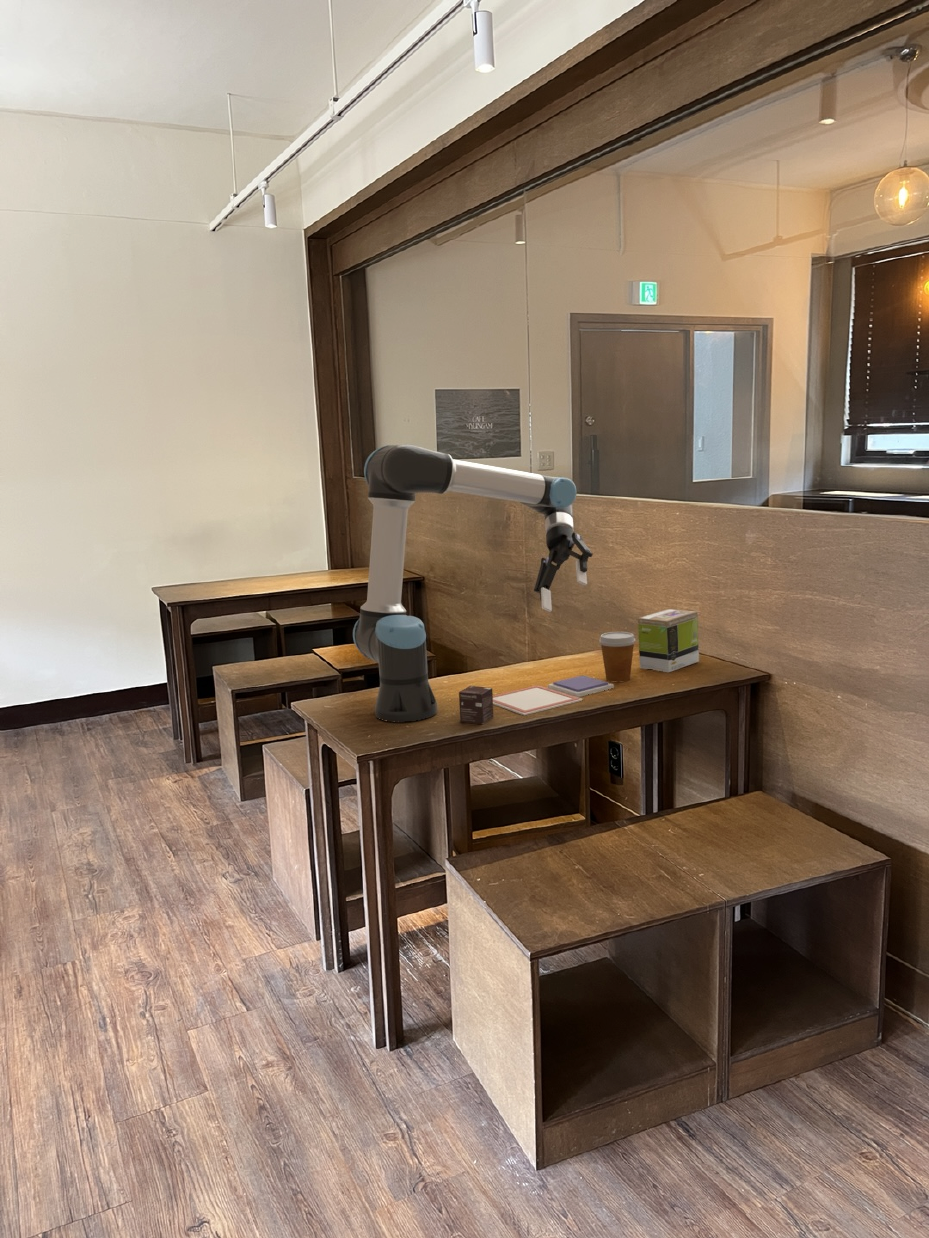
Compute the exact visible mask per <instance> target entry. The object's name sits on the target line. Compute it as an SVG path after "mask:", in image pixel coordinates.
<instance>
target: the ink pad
mask: <svg viewBox="0 0 929 1238" xmlns="http://www.w3.org/2000/svg"><path fill="white" fill-rule="evenodd" d="M547 688H548V689H552V690H555V691H558V692H561V693H565V694H568V695H571V696H574V697H578V698H581V697H585V696H588V694H589V695H593V694H596V693H600V692H604V690H605V691H609V690H612V689H611V688H613V689H614V688H615V684H614V683H611V682H610V683H609V681H604V680H602V679H597V678H594V677H590V676H586V675H583V674H582V675H579V676H578V675H577V676H574V677H570V678H565V679H561V680H556V681H554V682H552V683H548V684H547ZM608 689H609V690H608ZM592 693H593V694H592Z"/></svg>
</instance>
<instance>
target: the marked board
mask: <svg viewBox="0 0 929 1238" xmlns="http://www.w3.org/2000/svg"><path fill="white" fill-rule="evenodd" d="M582 700H583V698H581V697H575V696H572V695H569V694H565V693H562V692H559V691H556V690H552V689H549V688H548V687H545V686H541V685H539V684H538V685H537V684H536V685H534V686H533V685H532V686H528V687H524V688H521V689H520V688H519V689H515V690H511V691H508V692H503V693H499V694H495V695H493V706H496V707H499V708H502V709H505V710H508V711H510V712H513V713H516V714H518V715H521V716H527V715H532V714H536V713H539V712H543V711H548V710H552V709H554V708H558V707H563V706H564V707H565V706H567V705H570V704H571V705H572V704H574V703H579V702H583V701H582Z"/></svg>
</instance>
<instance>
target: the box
mask: <svg viewBox="0 0 929 1238" xmlns="http://www.w3.org/2000/svg"><path fill="white" fill-rule="evenodd" d="M493 692H494V691H493V687H486V686H485V687H484V686H476V685H469V686H468V687H466V688H464V689H462V690H460V691H459V692H458V699H459V700H458V702H459V703H458V704H459V719H460V720H459V722H460V723H467V724H475V725H484V724H485V723H487V722H488V721H490V720H491V718H492V719H493V718H494V704H493V696H494V695H493Z"/></svg>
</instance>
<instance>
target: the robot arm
mask: <svg viewBox="0 0 929 1238" xmlns="http://www.w3.org/2000/svg"><path fill="white" fill-rule="evenodd" d="M363 476H364V478H365V482H366V483H367V485H368V493H367V494H368V495H367V500H369V501H370V503H371V504H372V506H373V508H372V509H373V513H372V526H371V541H370V552H369V553H370V554H369V567H368V568H369V569H368V579H367V580H368V582H367V594H366V595H367V597H366V598H367V599H366V602H365V603H363V604H362V605H361V606H360V611H359V618H358V619H357V621H356V622H355V624H354V627H353V629H352V638H353V639H352V640H353V643H354V645H355V647H356V649H357V651H359V653H361V654H362V655H363V656H364V657H365V658H367V659H368V660H372V661H374V662H376V663H377V664H378V672H379V689H378V692H377V696H376V700H375V701H376V702H375V705H374V715H376V716H375V718H376V717H377V718H380V719H383V720H387V721H395V722H394V723H405V722H404V721H412V722H416V720H418V721H422V720H421V719H423V720H426V719H429V718H431V717H433V716H435V715H437V713H438V702H437V699H436V697H435V694H434V692H433V690H432V687H431V684H430V682H429V675H428V673H429V671H428V656H427V655H428V653H427V641H426V640H427V639H426V638H427V634H426V633H427V632H426V630H425V624H424V622H423V621H422V620H421V619H420V618H418V617H416V616H413V615H407V610H406V608H405V607H404V606H403V604H402V594H403V591H402V590H403V579H404V578H403V577H404V565H405V555H406V554H405V553H406V538H407V527H408V526H407V525H408V515H409V514H408V513H409V509H410V507H411V506H413V504H415V502H416V494H421V493H422V494H423V493H426V494H427V493H428V494H429V493H432V494H439V495H443V494H445V493H446V492H453V493H461V494H467V495H473V496H481V497H485V498H486V497H487V498H492V499H500V500H505V501H513V502H517V503H520V504H522V505H524V506H525V507H528V508H529V509H532V510H533V511H536V512H537V513H540V514H541V515H543V516H544V525H545V528H544V529H545V543H546V548H547V549H548V551H549V553H548V556H547V557H546V558H545V557H541V558H540V567H539V570H538V573H537V578H536V581H535V584H534V585H535V586H534V592H535V593H537V594H538V595H539V596H540V597H539V599H540V601H541V609H542V610H544V611H546V612H549V613H551V612H552V611H553V610H552V609H553V608H552V607H553V606H552V591H551V590H550V588H551V586H552V583H553V581H554V579H555V576H556V574H557V571H558V570H560V568H561V566H562V564H564V563H565V562H566V561H567V560H569V558H570V556H571V557H573V558H575V559H576V560H575V575H576V583H578V584H580V585H582V586H585V587H586V586H587V585H588V579H587V577H588V576H587V571H588V562H589V558H592V557H593V552H592V551H591V549H590V548H589V547H588V546H587V545H586V543H585V542H584V541H583V536H582V535H580V534H578V533H576V532H575V530H574V518H573V517H574V515H573V504H574V502H575V500H576V497H577V486H576V484H575V483H574V481H573V480H572V479H570V478H568V477H562V476H558V477H556V476H550V475H543V474H539V473H532V472H527V471H521V470H516V469H511V468H504V467H499V466H494V465H487V464H481V463H476V462H470V461H464V460H460V459H454V458H453V457H452V456H451V455H450V454H449V453H444V452H440V451H435V450H431V449H429V448H426V447H421V446H418V445H414V444H407V443H406V444H395V445H394V444H390V445H389V444H388V445H383V446H381V447H379V448H377V449H376V450H374V451H373V452H371V453H370V454H369V456H368V457H367V458H366V460H365V463H364V467H363ZM574 546H576V547H577V549H579V551H580V552H581V553H582V554H579V553H577V552H575V551H573V548H574ZM553 563H554V564H553ZM377 718H376V719H377ZM425 718H426V719H425ZM387 721H386V722H387ZM398 721H399V722H398Z"/></svg>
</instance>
